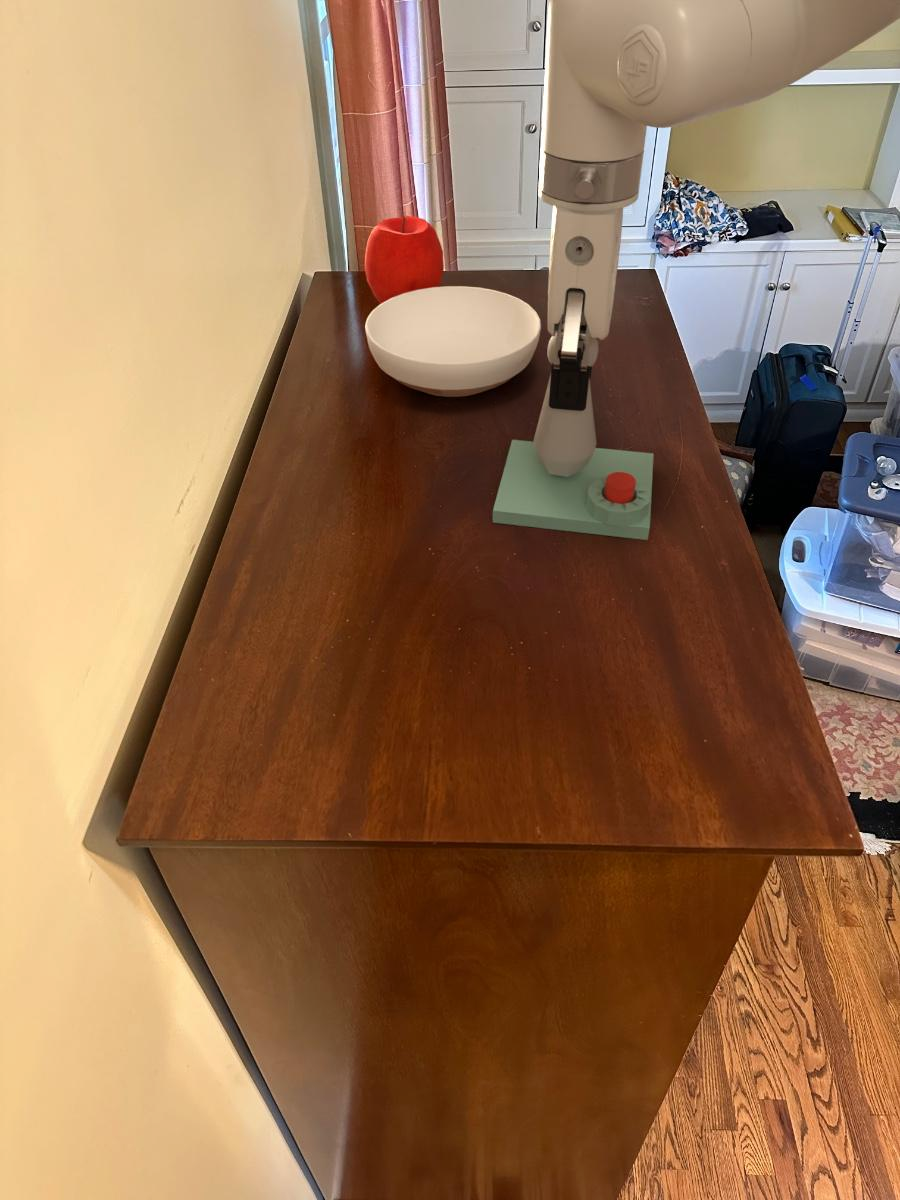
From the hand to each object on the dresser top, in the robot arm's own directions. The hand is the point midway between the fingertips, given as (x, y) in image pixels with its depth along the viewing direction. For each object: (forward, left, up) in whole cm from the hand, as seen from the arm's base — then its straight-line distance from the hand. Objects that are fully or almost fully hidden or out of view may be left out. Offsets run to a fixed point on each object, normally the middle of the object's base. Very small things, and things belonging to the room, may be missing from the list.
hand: (570, 391), depth 77 cm
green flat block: (-1, +1, -10) cm, 10 cm away
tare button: (-5, +5, -7) cm, 10 cm away
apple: (+24, -34, -10) cm, 42 cm away
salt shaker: (0, 0, -8) cm, 8 cm away
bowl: (+15, -20, -10) cm, 26 cm away
